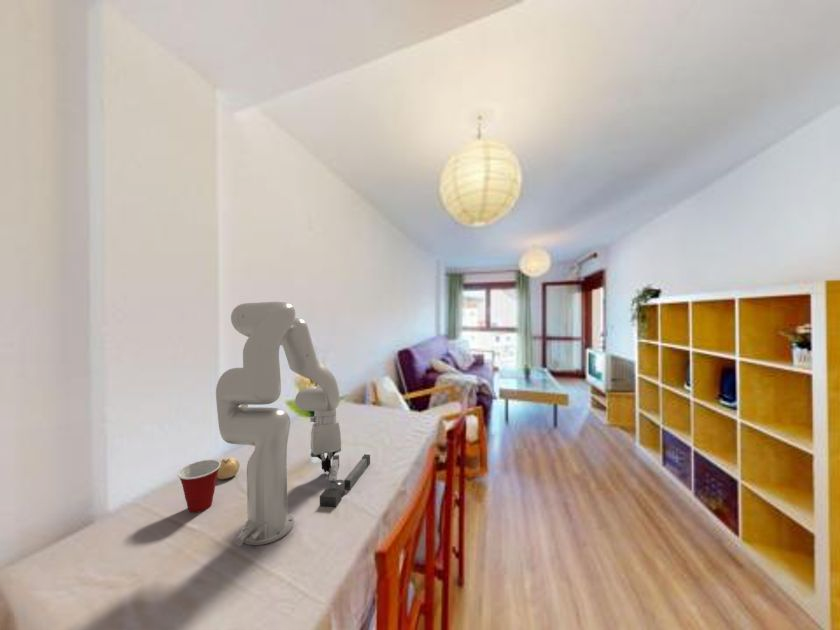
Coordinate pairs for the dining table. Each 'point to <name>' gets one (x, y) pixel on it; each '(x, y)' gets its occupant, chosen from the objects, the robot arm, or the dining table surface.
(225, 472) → the onion
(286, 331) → the robot arm
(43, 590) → the dining table surface
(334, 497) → the tong fixed
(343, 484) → the tong jaw
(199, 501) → the plastic cup
